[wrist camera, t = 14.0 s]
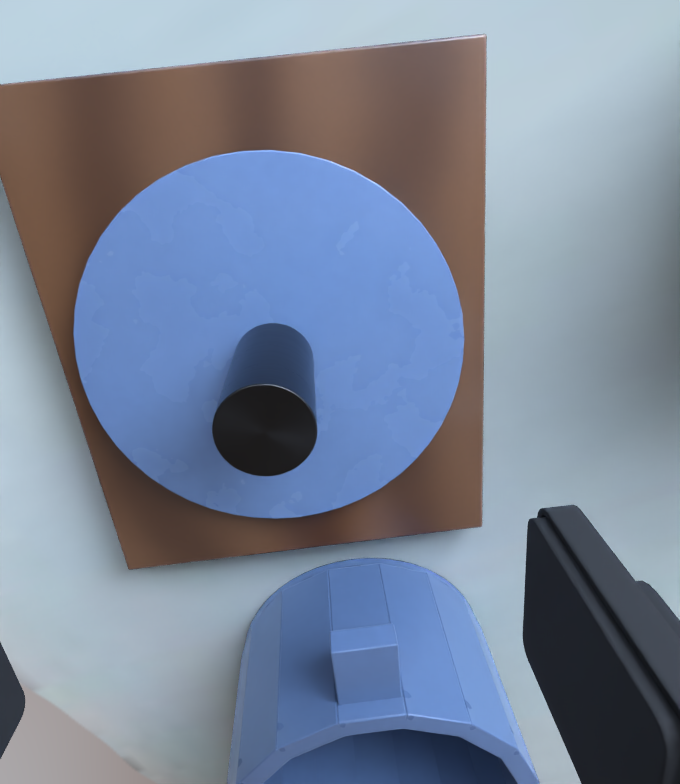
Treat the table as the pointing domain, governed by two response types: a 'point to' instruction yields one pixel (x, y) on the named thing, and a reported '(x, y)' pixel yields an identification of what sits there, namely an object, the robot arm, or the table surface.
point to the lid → (268, 334)
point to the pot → (372, 685)
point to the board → (249, 133)
